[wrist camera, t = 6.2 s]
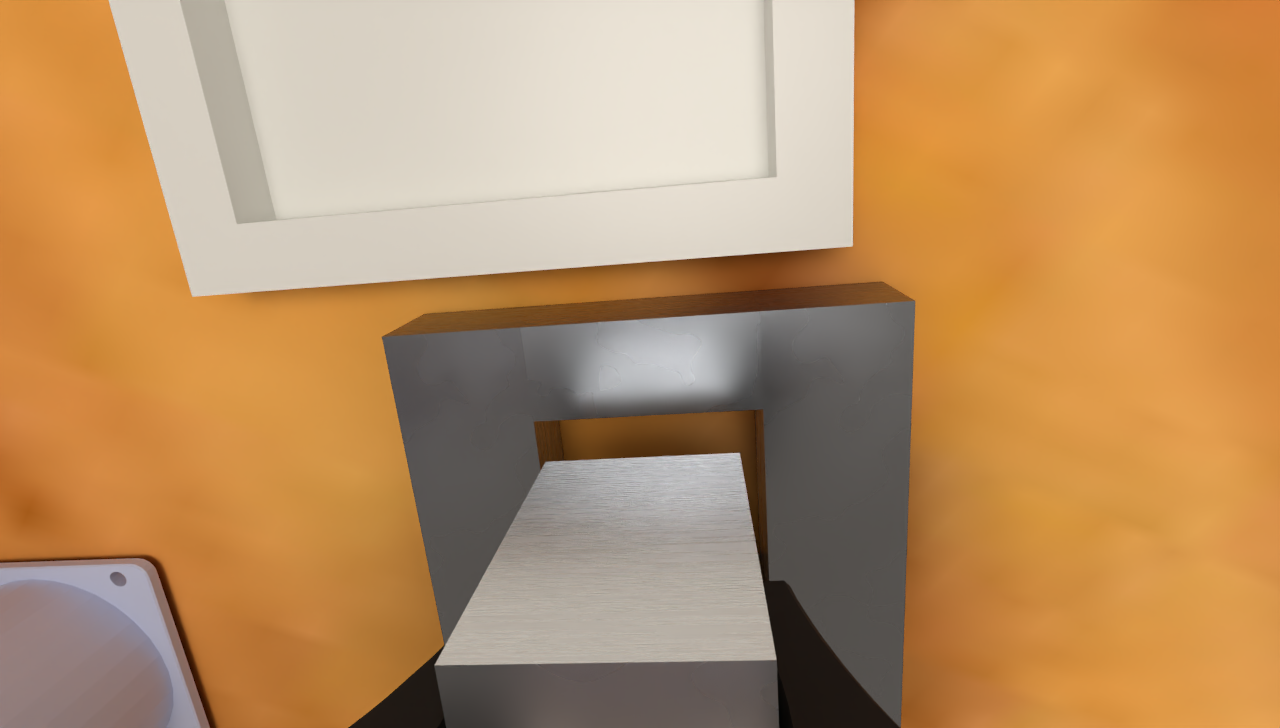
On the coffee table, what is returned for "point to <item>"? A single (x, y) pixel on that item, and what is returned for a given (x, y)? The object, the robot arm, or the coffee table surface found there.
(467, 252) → the white square tray
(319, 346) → the coffee table surface
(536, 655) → the block
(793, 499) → the metal frame
